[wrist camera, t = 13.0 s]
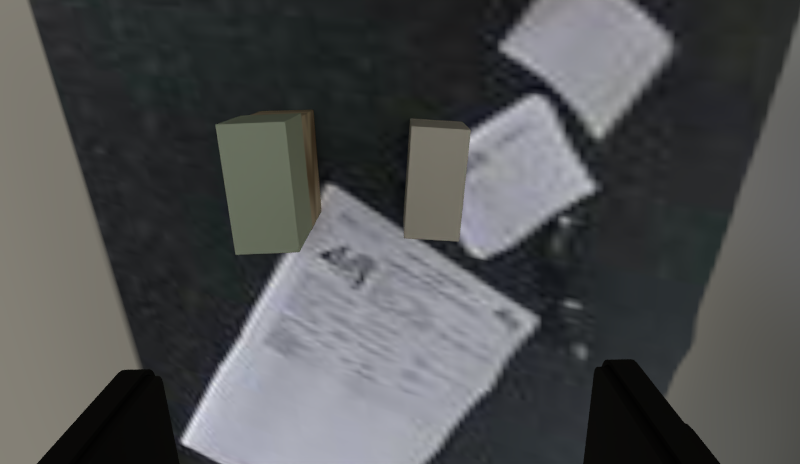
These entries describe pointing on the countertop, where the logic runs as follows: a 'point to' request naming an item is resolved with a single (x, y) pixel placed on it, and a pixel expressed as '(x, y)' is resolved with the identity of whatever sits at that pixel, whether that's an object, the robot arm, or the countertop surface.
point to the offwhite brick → (435, 179)
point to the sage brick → (265, 182)
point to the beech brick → (307, 157)
